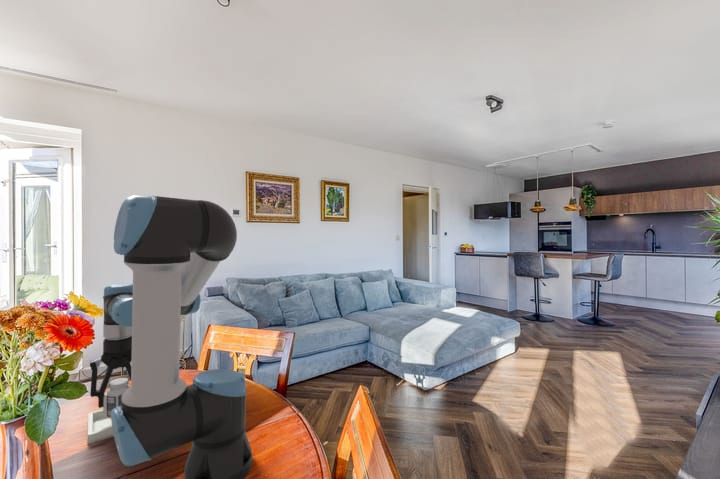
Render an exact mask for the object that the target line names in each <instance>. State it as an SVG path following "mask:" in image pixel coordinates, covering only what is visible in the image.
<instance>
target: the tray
mask: <svg viewBox="0 0 720 479" xmlns="http://www.w3.org/2000/svg"><path fill="white" fill-rule="evenodd" d="M87 422H88V424H87V445H91V444H94V443H98V442H101V441H104V440H107V439H111V438H114V433H113V428H112V422H111V419H110V418H108V417H107V419H103V408H102V409H101V408H100V409H99V410H94V411H91V412H88V419H87Z"/></svg>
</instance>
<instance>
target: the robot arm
mask: <svg viewBox="0 0 720 479" xmlns="http://www.w3.org/2000/svg"><path fill="white" fill-rule="evenodd" d="M113 231H114V232H113V249H114V253H116V254H117V255H120V256H123V264H124V265H125V266H126V267H128V268H129V269H130V270H131V271H132V283H116V284H115V283H113V284H108V285H107V286H105V287H104V288H103V297H102V299H103V326H102V328H103V330H102V331H103V335H102V337H103V338H104V339H103V340H102V341H103V342H102V347H103V348H102V355H101V356H100V358H97V359H91V360H89V367H90V369H91V378H90V379H91V380H90V382H91V383H90V394H89V395H90V397H91V398H94V397H97V398H98V401H97V402H98V404H97V406H98V408H100V409H101V408H102V409H103V419H107V392H106V390H107V387H108V386H109V382H110V379H111V376H112V374H113V371H114V370H116V369H120V368H125V370H126V372H127V374H128V376H129V379H130V388H128V389H127V390H126V391H125V392H124V393H123V395H122V402H121V406H117V407H116V408H114V409H113V410H112V411H111V422H112V428H113V433H114V437H113V438H114V442H115V446H116V450H117V453H118V456H119V459H120V461H121V464H123V465H124V466H126V467H133V466H136V465H139V464H141V463H144V462H146V461H148V462H149V461H152V459H154V458H157V457H159V456H161V455H164V454H166V453H169V452H170V451H173V450H175V449H178V448H180V447H182V446H185V445H187V444H189V443H192V444H191V448H190V450H189V454H188V457H187V458H186V461H185V465H184V470H183V472H184V473H183V475H184V476H183V479H244V478H245V477H246V476H247V474H248V473H249V472H250V470H251V469H252V466H253V450H252V448H251V447H252V446H251V444H250V441H249V439H248V435H247V433H246V410H247V409H246V405H247V404H246V403H247V402H246V401H247V400H246V399H247V387H246V379H245V376H243V374H242V373H241V372H239V371H236V370H233V369H228V368H226V369H225V368H224V369H223V368H217V369H207V370H204V371H201V372H199V373H198V374H196V375H195V376H194V378H193V379H192V384H189V385H187V382H186V381H185V380H184V379H182V378H181V377H180V361H181V360H180V359H181V358H180V356H181V352H180V350H181V348H180V347H181V317H182V316H187V315H190V314H194V313H197V312H199V310H200V308H201V295H200V293H201V291H202V290H203V288H204V287H205V285H206V284H207V282H208V281H209V279H210V277H211V276H212V275H213V273H214V272H215V270H216V269H217V267H218V265H219V264H220V262H222V261H225V260H227V259H228V258H229V256H230V255H231V254H232V252H233V250H234V249H235V247H236V243H237V239H238V236H237V235H238V233H237V232H238V231H237V228H236V224H235V222H234V219H233V218H232V216H231V215H230V214H229V212H228V211H227V210H226V209H225V208H223V207H222V206H220V205H219V204H216V203H214V202H212V201H210V200H209V201H208V200H202V199H200V200H196V199H186V198H178V197H177V198H176V197H168V196H159V195H131V196H129V197H128V196H127V198H126V199H124V200H123V202H122V204H121V205H120V208H119V210H118V213H117V217H116V221H115V226H114V230H113ZM102 363H103V364H104V365H105V366H107V368H106V371H105V373H104V376H103V379H102V382H101V384H100V387H99V390H98V389H97V387H98V386H97V384H98V368H100V367H101V364H102Z"/></svg>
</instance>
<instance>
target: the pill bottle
mask: <svg viewBox="0 0 720 479" xmlns="http://www.w3.org/2000/svg"><path fill="white" fill-rule="evenodd" d="M128 384H130V383H129V378H128V377H127V378H126V377H120V378H115V379H112V380H110V381H109V382H108V388H109V389H108V390H107V392H106V393H107V417H108V418H110V419H111V411H112V410H113V409H114V408H116V407H117V406H121V402H122V395H123V393H124V392H125V391H126V390H127V389H128V388H130V387H131V385H128Z"/></svg>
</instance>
